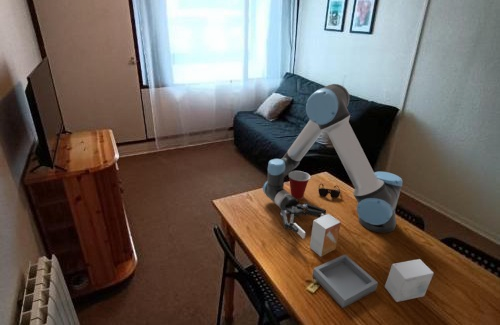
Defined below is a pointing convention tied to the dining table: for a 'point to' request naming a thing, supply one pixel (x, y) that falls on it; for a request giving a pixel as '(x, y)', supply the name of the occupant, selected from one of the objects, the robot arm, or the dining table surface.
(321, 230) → the small box
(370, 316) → the dining table surface
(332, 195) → the sunglasses
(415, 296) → the skincare box
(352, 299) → the tray
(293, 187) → the plastic cup
